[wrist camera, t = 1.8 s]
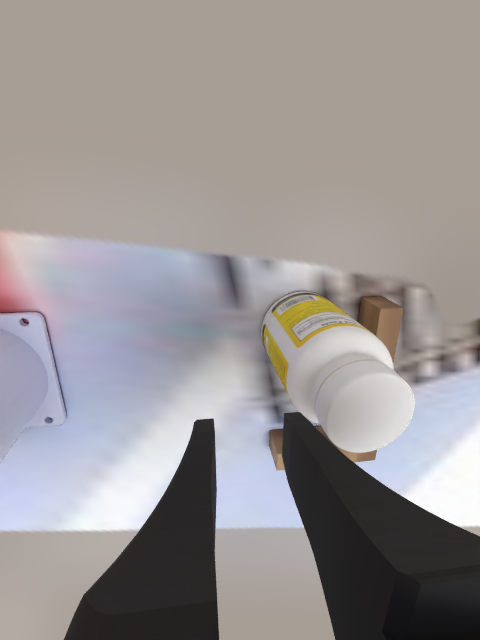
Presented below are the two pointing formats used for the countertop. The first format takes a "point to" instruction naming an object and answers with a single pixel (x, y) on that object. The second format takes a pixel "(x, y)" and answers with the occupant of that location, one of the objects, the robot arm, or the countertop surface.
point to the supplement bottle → (336, 372)
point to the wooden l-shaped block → (385, 326)
